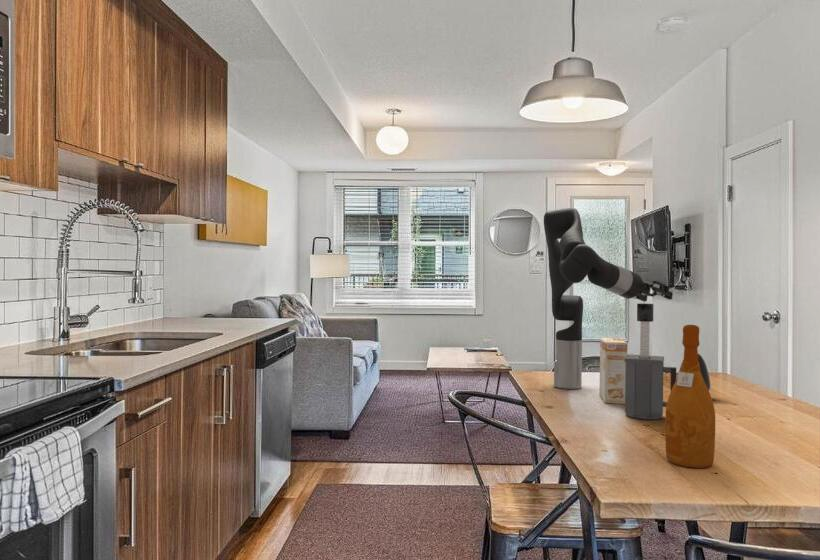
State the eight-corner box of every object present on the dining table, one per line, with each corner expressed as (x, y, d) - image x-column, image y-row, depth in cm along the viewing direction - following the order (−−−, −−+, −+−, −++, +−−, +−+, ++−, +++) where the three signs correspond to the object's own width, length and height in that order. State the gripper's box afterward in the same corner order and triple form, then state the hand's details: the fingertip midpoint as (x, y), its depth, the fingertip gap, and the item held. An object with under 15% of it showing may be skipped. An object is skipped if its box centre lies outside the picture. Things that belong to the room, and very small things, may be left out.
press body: (623, 417, 172) (624, 358, 172) (627, 410, 181) (627, 354, 181) (675, 423, 166) (676, 361, 166) (676, 415, 175) (676, 357, 175)
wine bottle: (656, 456, 136) (658, 322, 135) (698, 455, 136) (700, 323, 136) (679, 470, 126) (681, 326, 125) (724, 469, 127) (726, 326, 126)
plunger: (629, 384, 172) (630, 303, 172) (631, 379, 179) (632, 302, 179) (657, 386, 169) (658, 304, 169) (659, 381, 176) (660, 303, 176)
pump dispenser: (703, 395, 206) (703, 350, 206) (715, 401, 196) (715, 354, 196) (672, 394, 207) (672, 350, 207) (682, 400, 197) (683, 354, 197)
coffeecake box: (627, 404, 190) (628, 342, 190) (603, 403, 191) (604, 342, 191) (620, 395, 204) (621, 337, 204) (598, 394, 206) (599, 337, 206)
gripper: (643, 265, 163) (681, 282, 170) (602, 271, 175) (639, 287, 182) (640, 292, 161) (678, 308, 168) (599, 296, 173) (636, 311, 181)
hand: (658, 297), depth 175 cm, fingers open, 8 cm apart
